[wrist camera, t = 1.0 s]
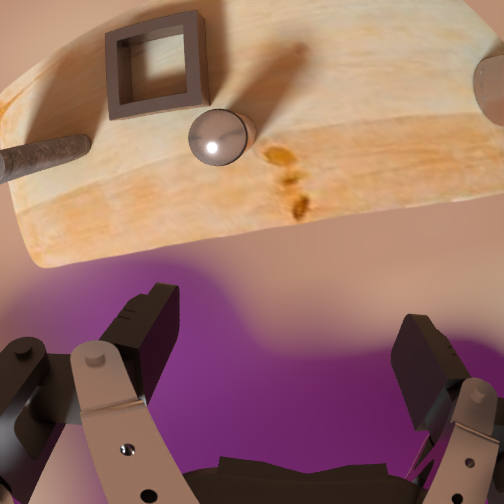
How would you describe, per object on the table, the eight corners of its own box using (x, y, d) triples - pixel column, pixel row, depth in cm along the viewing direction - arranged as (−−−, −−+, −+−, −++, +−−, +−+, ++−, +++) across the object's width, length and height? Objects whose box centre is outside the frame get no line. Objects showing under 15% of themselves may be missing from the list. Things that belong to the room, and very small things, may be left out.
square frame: (204, 18, 30) (196, 10, 26) (210, 106, 34) (202, 104, 30) (119, 38, 31) (105, 33, 28) (123, 119, 35) (109, 120, 32)
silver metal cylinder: (255, 110, 33) (244, 105, 25) (258, 154, 35) (248, 165, 27) (210, 114, 34) (184, 112, 25) (213, 157, 36) (189, 169, 27)
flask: (93, 159, 37) (-9, 192, 21) (23, 175, 39) (-67, 210, 23) (89, 132, 36) (-15, 152, 19) (19, 152, 38) (-72, 180, 21)
